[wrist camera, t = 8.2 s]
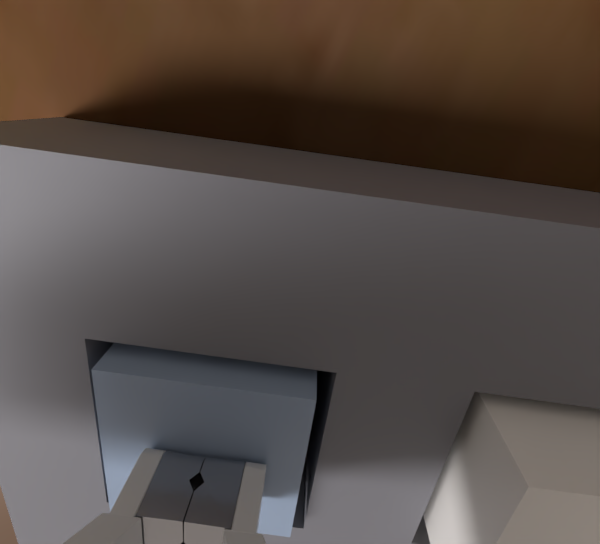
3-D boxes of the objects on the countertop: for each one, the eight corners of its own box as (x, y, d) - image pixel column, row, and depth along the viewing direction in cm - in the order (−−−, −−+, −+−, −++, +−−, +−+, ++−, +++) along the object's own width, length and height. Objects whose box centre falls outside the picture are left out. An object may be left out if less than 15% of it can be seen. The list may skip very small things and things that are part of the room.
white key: (410, 463, 13) (449, 623, 9) (453, 346, 11) (528, 486, 7) (552, 482, 13) (653, 651, 9) (622, 369, 11) (793, 522, 7)
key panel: (103, 445, 17) (26, 568, 13) (61, 117, 11) (-111, 129, 7) (748, 531, 17) (898, 684, 13) (1032, 253, 12) (1491, 353, 7)
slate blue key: (168, 398, 14) (109, 513, 10) (165, 281, 12) (91, 369, 8) (298, 416, 14) (290, 537, 10) (318, 302, 12) (316, 399, 8)
